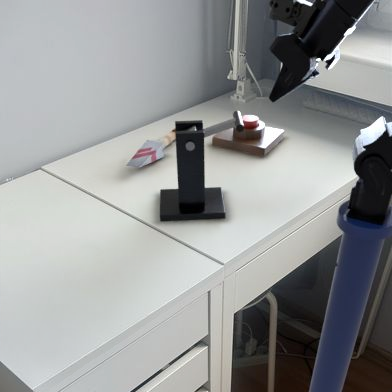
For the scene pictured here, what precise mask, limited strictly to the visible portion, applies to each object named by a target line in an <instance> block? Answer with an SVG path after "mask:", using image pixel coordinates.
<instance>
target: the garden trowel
mask: <svg viewBox="0 0 392 392" xmlns="http://www.w3.org/2000/svg"><path fill="white" fill-rule="evenodd" d="M174 141H176V136H175V127H174V128H173V129H172V130H171V131H169V132H167V134H165V135H163V136H162V137H161V138H160V139H158V140H157V141H155V140H151V139H146V141H145V142H144V143H143V144H142V145H141V147H140V148H139V149H138V150H137V151H136V153H135V154H134V155H133V156H132V157H131V158H130V160H129V161H128V162H127V163H126V164H125V166H126V167H131V168H137V169H139V168H142V167H144V166H146V165H149V164H151V163H153V162H155V161H157V160H160V159H162V158H164V157H165V156H166V155H165V153H164V152H165V151H164V149H165V148H166V147H167V146H169V145H170V144H172V142H174Z"/></svg>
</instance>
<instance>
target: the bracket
mask: <svg viewBox="0 0 392 392" xmlns="http://www.w3.org/2000/svg"><path fill="white" fill-rule="evenodd" d="M193 126H196V129H197V131H181V130H184V129H187V128H190V127H193ZM174 128H175V136H176V139H175V153H176V154H175V155H176V173H177V188H165V189H164V188H163V189H162V188H161V189H160V190H159V193H160V194H159V222H179V221H180V222H181V221H201V220H202V221H205V220H206V221H208V220H209V221H210V220H225V219H226V208H225V203H224V196H223V190H222V189H223V188H222V187H221V186H215V187H214V186H213V187H206V184H205V183H206V180H205V179H206V175H205V174H206V173H205V172H206V171H205V169H206V168H205V167H206V166H205V165H206V164H205V162H206V161H205V138H204V130H202V129H204V121H203V119H198V120H196V119H195V120H175V121H174Z"/></svg>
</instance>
